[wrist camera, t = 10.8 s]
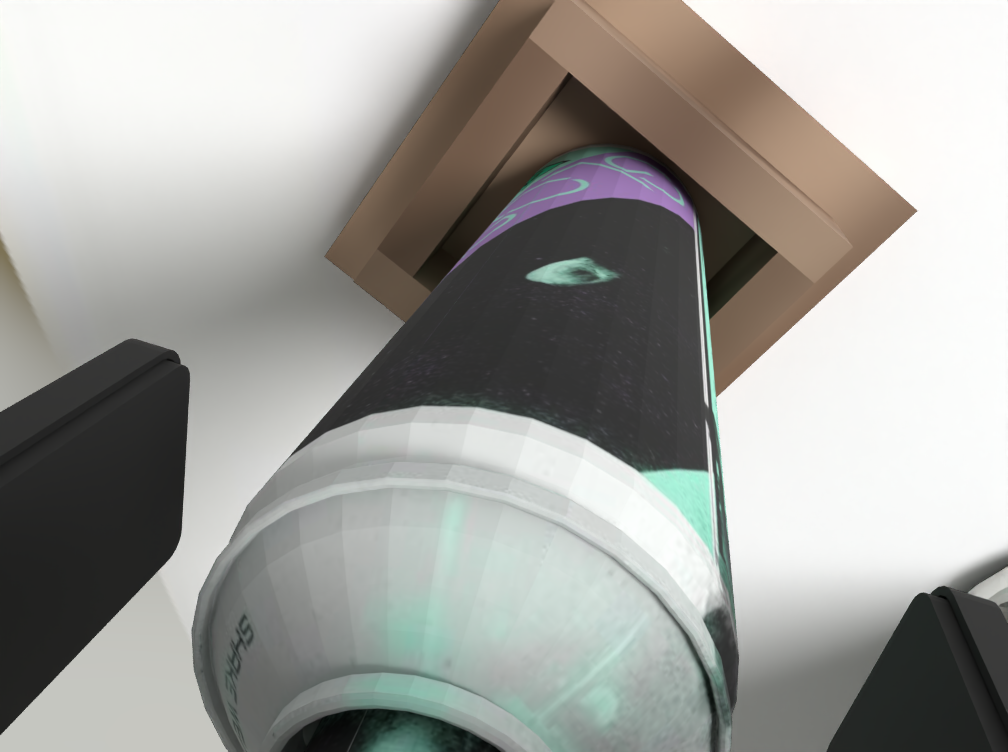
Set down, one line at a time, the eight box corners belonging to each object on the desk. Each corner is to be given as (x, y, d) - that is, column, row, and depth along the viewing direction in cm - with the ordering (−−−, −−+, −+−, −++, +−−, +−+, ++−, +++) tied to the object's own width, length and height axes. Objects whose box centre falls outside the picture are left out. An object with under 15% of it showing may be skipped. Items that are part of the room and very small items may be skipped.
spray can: (646, 104, 22) (483, 564, 4) (734, 279, 23) (910, 1199, 5) (476, 201, 24) (-149, 803, 6) (566, 357, 25) (287, 1217, 7)
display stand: (899, 195, 23) (951, 240, 19) (621, 458, 29) (610, 542, 24) (577, -93, 22) (551, -117, 17) (347, 240, 27) (282, 286, 23)
